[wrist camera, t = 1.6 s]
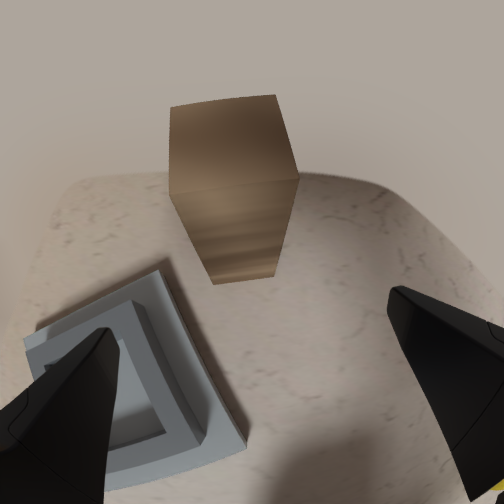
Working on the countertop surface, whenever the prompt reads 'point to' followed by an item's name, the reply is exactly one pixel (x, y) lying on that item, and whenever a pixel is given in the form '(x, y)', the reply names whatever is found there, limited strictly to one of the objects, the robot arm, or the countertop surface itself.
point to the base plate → (148, 384)
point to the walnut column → (233, 183)
